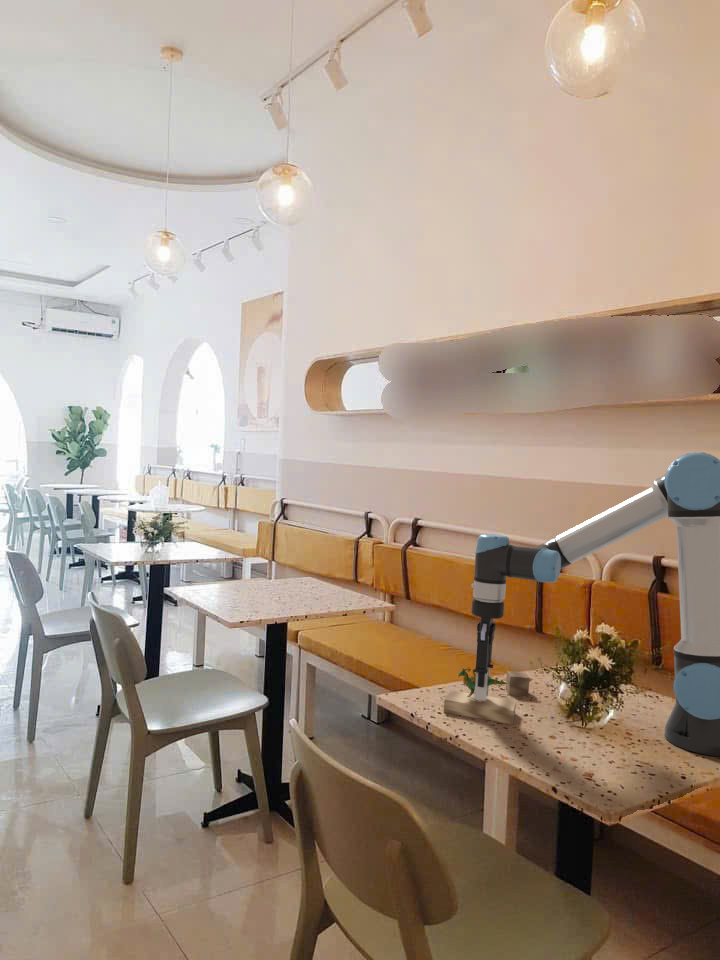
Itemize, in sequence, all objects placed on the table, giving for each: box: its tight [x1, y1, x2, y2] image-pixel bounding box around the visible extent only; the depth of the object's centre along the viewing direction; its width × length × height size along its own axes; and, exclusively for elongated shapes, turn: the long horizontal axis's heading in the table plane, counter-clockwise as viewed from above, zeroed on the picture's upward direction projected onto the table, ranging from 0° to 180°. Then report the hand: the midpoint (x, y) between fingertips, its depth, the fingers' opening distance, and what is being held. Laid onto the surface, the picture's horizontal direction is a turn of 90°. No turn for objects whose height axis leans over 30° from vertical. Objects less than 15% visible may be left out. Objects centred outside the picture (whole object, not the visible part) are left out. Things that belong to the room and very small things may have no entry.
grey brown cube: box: [505, 670, 531, 697], centre depth 187 cm, size 5×5×5 cm
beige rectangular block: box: [443, 689, 517, 725], centre depth 169 cm, size 16×8×3 cm, turn 73°
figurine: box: [457, 666, 507, 697], centre depth 169 cm, size 3×12×8 cm, turn 66°
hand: (481, 697), depth 169 cm, fingers open, 3 cm apart
